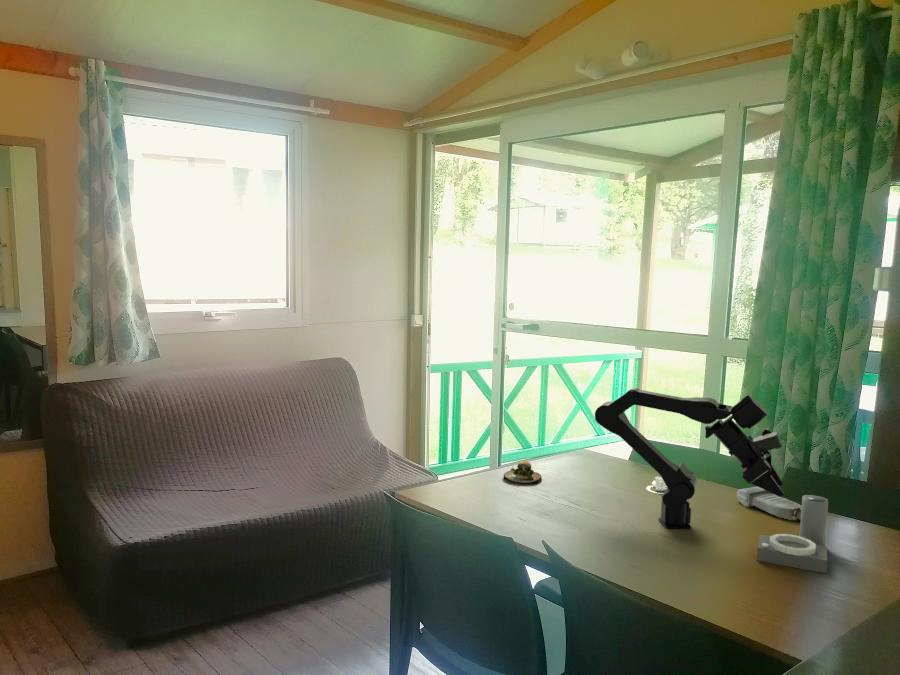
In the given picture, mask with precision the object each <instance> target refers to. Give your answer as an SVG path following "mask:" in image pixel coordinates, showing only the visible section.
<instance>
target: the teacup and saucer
mask: <svg viewBox="0 0 900 675" xmlns="http://www.w3.org/2000/svg"><path fill="white" fill-rule="evenodd" d="M654 478H655V479H654V480H653V481H652V482H651V485H648V486H646V488H645V490H647V491H648V492H650V493H654V494H657V495H658V494H660V495H663V494H664V492H665V490H666V488H665V487H666V484H665V482H664V481H663V479H662V477H661V476H654ZM651 487H652V488H655V490H656V491H658V493H657V492H656V491H653V490H651ZM663 491H664V492H663Z"/></svg>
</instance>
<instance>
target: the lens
mask: <svg viewBox="0 0 900 675" xmlns="http://www.w3.org/2000/svg"><path fill="white" fill-rule="evenodd" d="M801 506H802V509H801V520H800V525H799V536H800V537H803V538H806V539H809V540H810V541H812V542H813V543H815V544H817V545H823V546H826V539H827V538H826V537H827V524H828V513H829V512H828V511H829V510H828V509H829V499H828V498H825V497H824V496H820V495H815V494H805V495H802V497H801Z"/></svg>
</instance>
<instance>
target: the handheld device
mask: <svg viewBox="0 0 900 675" xmlns="http://www.w3.org/2000/svg"><path fill="white" fill-rule="evenodd" d="M736 497H737V500H738V502H740V503H741V505H742V506H744V507H746V508H753V506H755V508H758V509H760V510H761V511H763V512H766V513H768V514H770V515H772V516H774V515H775V517H778V518H780V519H782V518H784V519H783V520H785V519H789V520H795V521H799V520H800V521H801V509H802V504H800V503H797V502H795V501H794V500H793V501H792V500H791V499H788V498H785V497H784V496H781V497H779V496H777V495H775V494H773V493H771V492H769V491H767V490H764V489H762V488H760V487H758V486H753V487H747V488H746V487H745V488H740V489H738V490H737V492H736ZM797 519H799V520H797ZM789 520H788V521H789Z"/></svg>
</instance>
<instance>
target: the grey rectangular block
mask: <svg viewBox="0 0 900 675" xmlns="http://www.w3.org/2000/svg"><path fill="white" fill-rule="evenodd" d="M757 544H758V545H757V553H756V561H758V562H763V563H769V564H774V565H778V566H779V565H780V566H783V567H789V568H795V569H800V570H806V571H810V572H816V573H820V574H825V575H827V573H828V572H827V571H828V551H827V546H826V545H825V546H823V545H817V544H815V543H813V542H812V541H810V540H809V539H806V538H803V537H800V535H796V534H789V533H776V534H773V535H765V534H759V537H758V543H757Z"/></svg>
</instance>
